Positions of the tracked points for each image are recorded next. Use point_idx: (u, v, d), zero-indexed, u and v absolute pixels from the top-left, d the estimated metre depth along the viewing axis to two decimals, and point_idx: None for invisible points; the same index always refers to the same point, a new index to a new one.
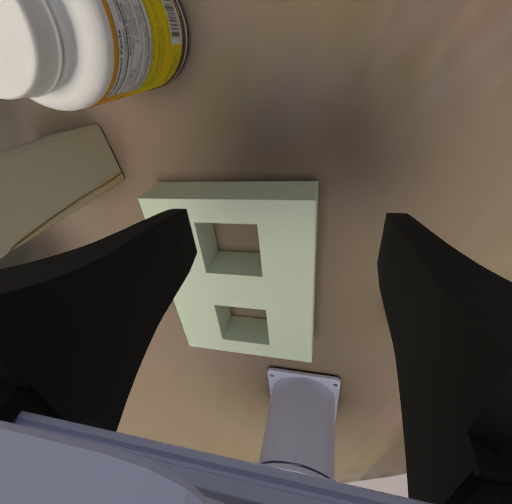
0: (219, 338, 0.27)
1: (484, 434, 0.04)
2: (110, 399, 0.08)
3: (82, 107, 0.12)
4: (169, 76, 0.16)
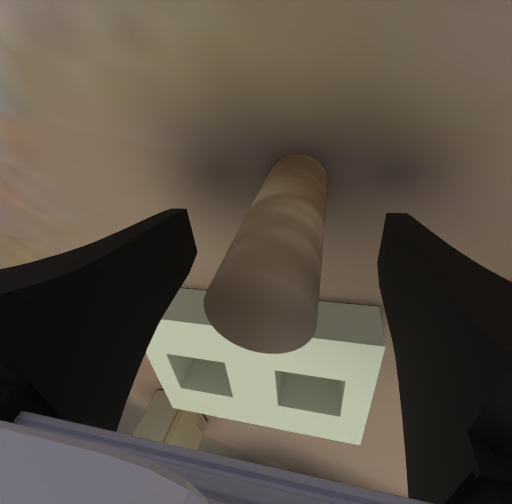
0: (339, 418, 0.21)
1: (484, 434, 0.04)
2: (110, 399, 0.08)
3: None
4: None
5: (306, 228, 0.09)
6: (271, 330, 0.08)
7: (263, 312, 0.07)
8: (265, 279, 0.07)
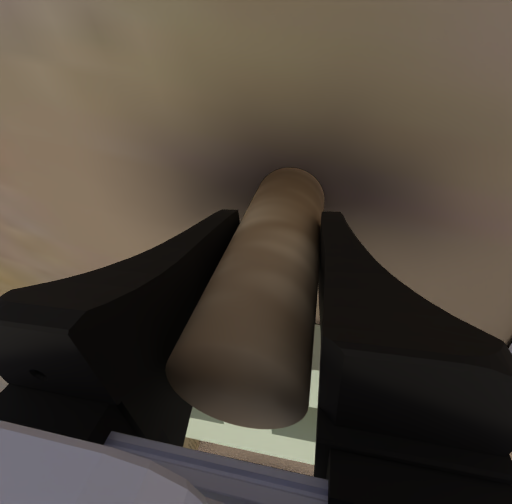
0: None
1: (325, 407, 0.04)
2: (179, 413, 0.07)
3: None
4: None
5: (297, 268, 0.07)
6: (251, 405, 0.06)
7: (241, 387, 0.06)
8: (239, 354, 0.05)
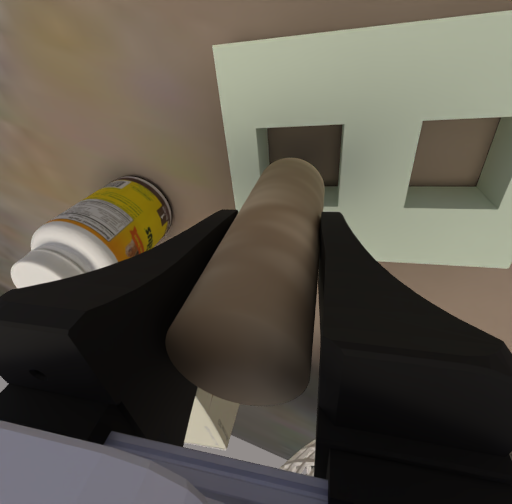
0: (495, 214, 0.15)
1: (324, 407, 0.04)
2: (179, 413, 0.07)
3: (108, 258, 0.17)
4: (150, 196, 0.21)
5: (303, 251, 0.07)
6: (249, 379, 0.06)
7: (242, 359, 0.06)
8: (250, 322, 0.05)
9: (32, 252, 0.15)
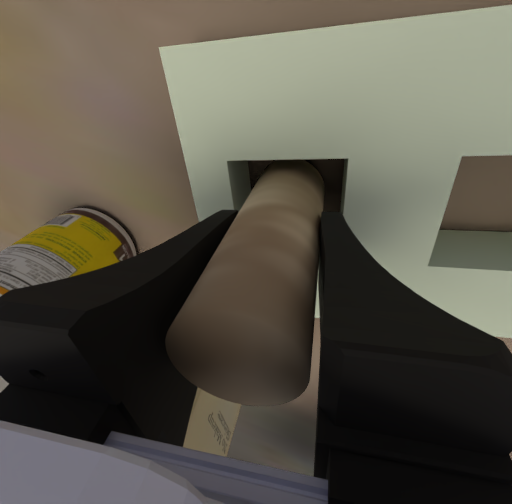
0: None
1: (324, 407, 0.04)
2: (179, 413, 0.07)
3: None
4: (105, 234, 0.17)
5: (303, 251, 0.07)
6: (248, 380, 0.06)
7: (242, 359, 0.06)
8: (250, 322, 0.05)
9: None
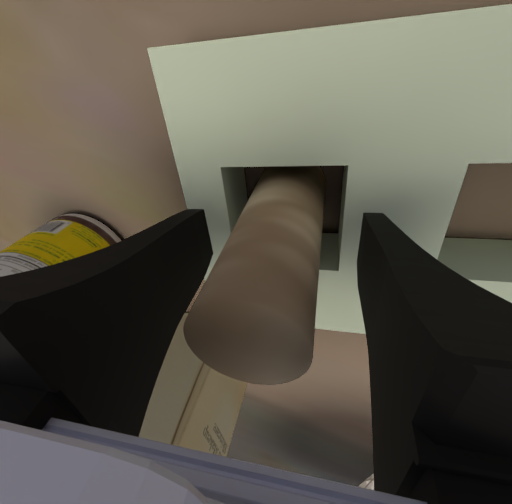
0: None
1: (424, 424, 0.04)
2: (133, 404, 0.08)
3: None
4: (97, 240, 0.16)
5: (305, 245, 0.08)
6: (258, 361, 0.07)
7: (253, 342, 0.06)
8: (260, 310, 0.06)
9: None
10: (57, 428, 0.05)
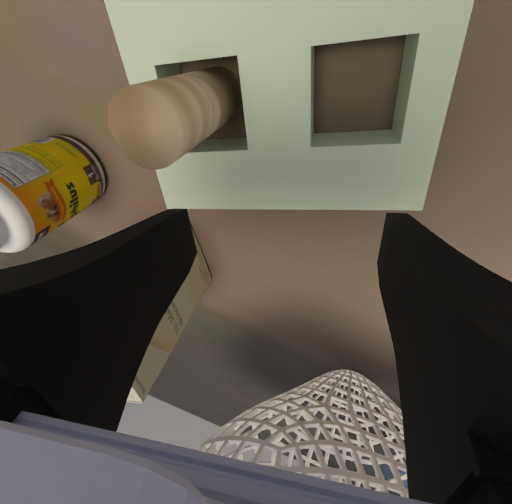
0: (399, 150, 0.15)
1: (484, 434, 0.04)
2: (110, 399, 0.08)
3: (14, 204, 0.16)
4: (76, 153, 0.21)
5: (194, 88, 0.12)
6: (154, 143, 0.11)
7: (147, 124, 0.11)
8: (144, 91, 0.10)
9: None
10: (27, 421, 0.06)
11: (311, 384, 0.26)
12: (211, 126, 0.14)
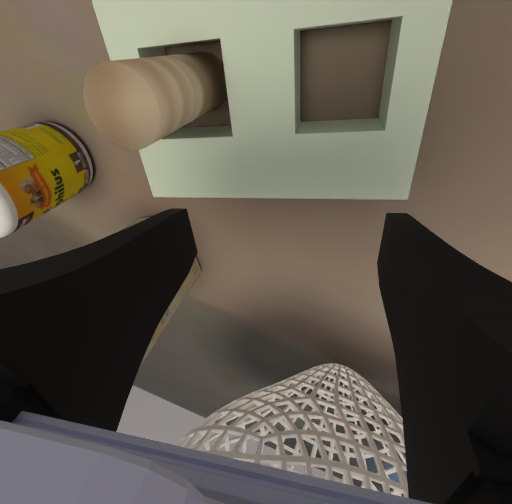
0: (383, 137, 0.15)
1: (484, 434, 0.04)
2: (110, 399, 0.08)
3: None
4: (62, 139, 0.21)
5: (174, 69, 0.12)
6: (131, 122, 0.11)
7: (123, 103, 0.11)
8: (118, 67, 0.10)
9: None
10: (27, 421, 0.06)
11: (299, 377, 0.26)
12: (193, 109, 0.14)
